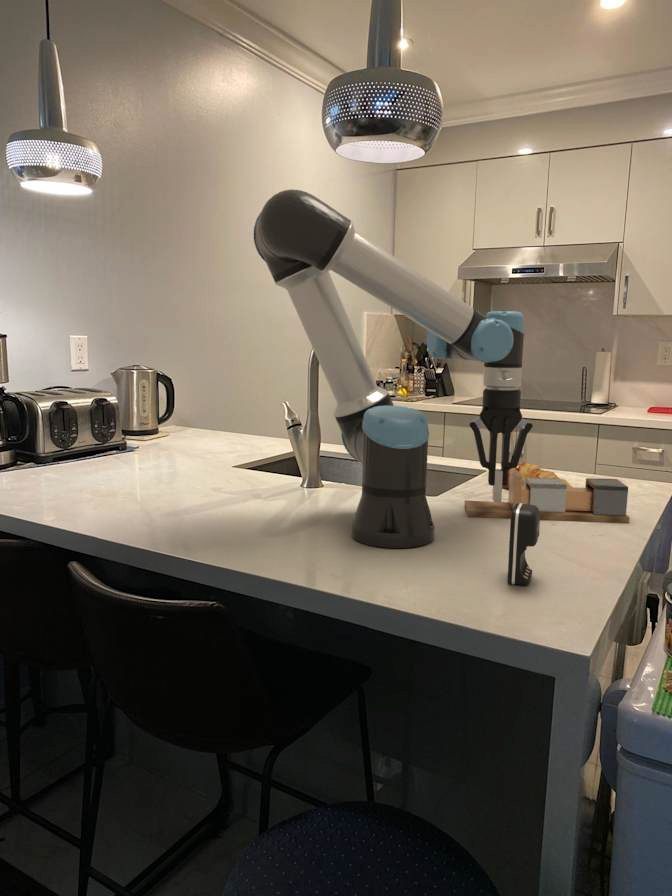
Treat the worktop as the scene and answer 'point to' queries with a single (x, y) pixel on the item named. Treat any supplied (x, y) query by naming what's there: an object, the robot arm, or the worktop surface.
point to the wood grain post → (574, 496)
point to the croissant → (533, 474)
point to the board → (505, 511)
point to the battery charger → (522, 541)
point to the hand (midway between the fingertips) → (496, 500)
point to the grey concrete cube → (547, 494)
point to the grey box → (608, 496)
